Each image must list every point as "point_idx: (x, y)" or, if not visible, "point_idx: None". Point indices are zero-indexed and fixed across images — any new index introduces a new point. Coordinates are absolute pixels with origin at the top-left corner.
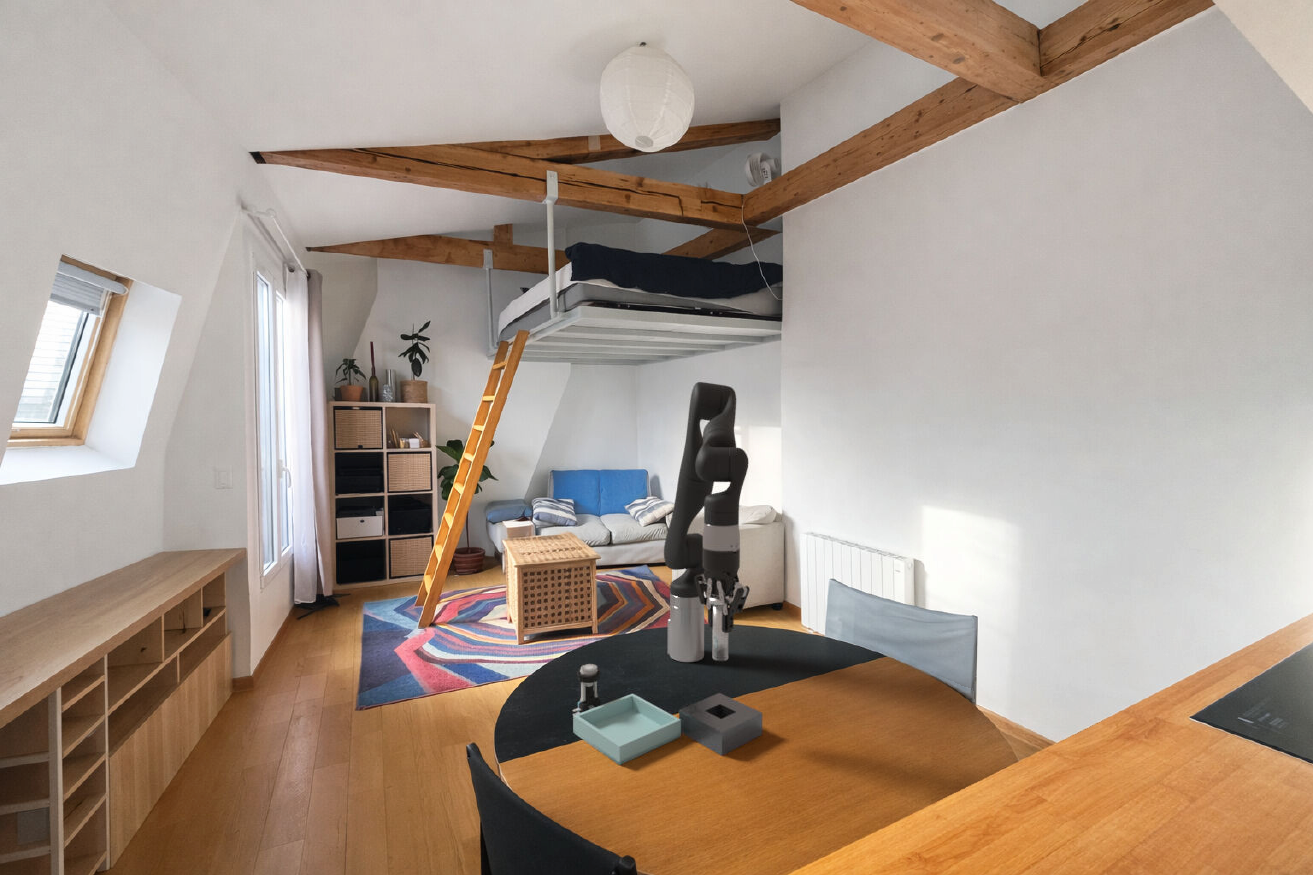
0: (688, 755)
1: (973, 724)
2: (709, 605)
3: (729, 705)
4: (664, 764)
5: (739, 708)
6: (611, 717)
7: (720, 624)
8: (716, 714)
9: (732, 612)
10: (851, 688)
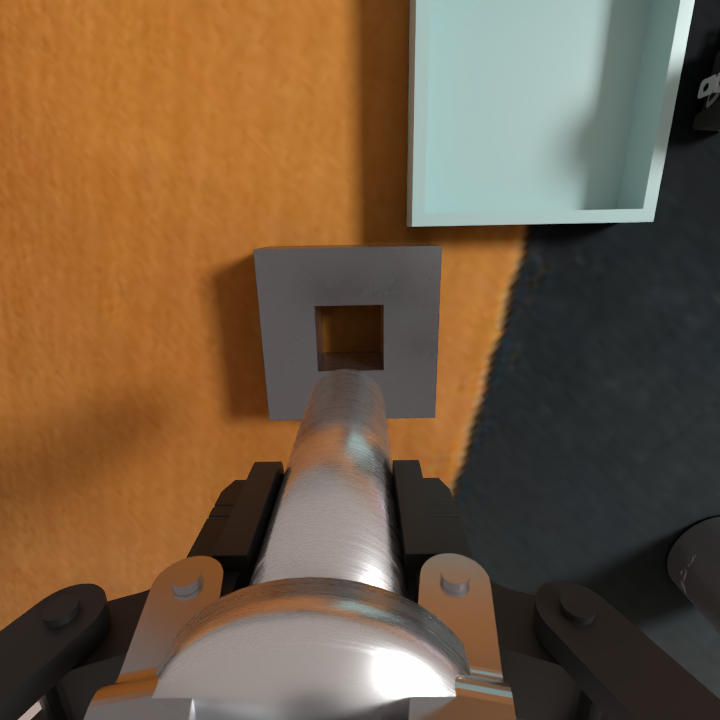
0: (322, 175)
1: None
2: (440, 593)
3: None
4: (329, 85)
5: None
6: (628, 118)
7: (289, 485)
8: (382, 348)
9: (62, 601)
10: None
